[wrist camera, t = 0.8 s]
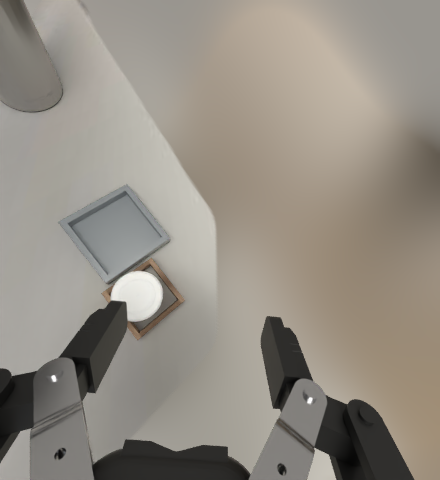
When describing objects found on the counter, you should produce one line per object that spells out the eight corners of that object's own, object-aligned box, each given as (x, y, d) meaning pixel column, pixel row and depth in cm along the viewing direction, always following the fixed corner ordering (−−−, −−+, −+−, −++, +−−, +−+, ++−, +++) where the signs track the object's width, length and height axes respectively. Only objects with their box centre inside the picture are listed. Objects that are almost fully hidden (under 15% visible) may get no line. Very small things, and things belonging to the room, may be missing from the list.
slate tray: (63, 226, 32) (57, 221, 30) (128, 190, 36) (127, 183, 34) (108, 284, 32) (105, 283, 30) (169, 241, 35) (169, 238, 34)
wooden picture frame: (104, 293, 31) (101, 293, 29) (151, 260, 34) (151, 257, 32) (138, 337, 31) (137, 340, 29) (183, 300, 34) (184, 300, 32)
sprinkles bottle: (158, 315, 32) (157, 325, 20) (125, 311, 31) (102, 319, 19) (164, 283, 34) (167, 274, 21) (133, 279, 33) (116, 266, 20)
